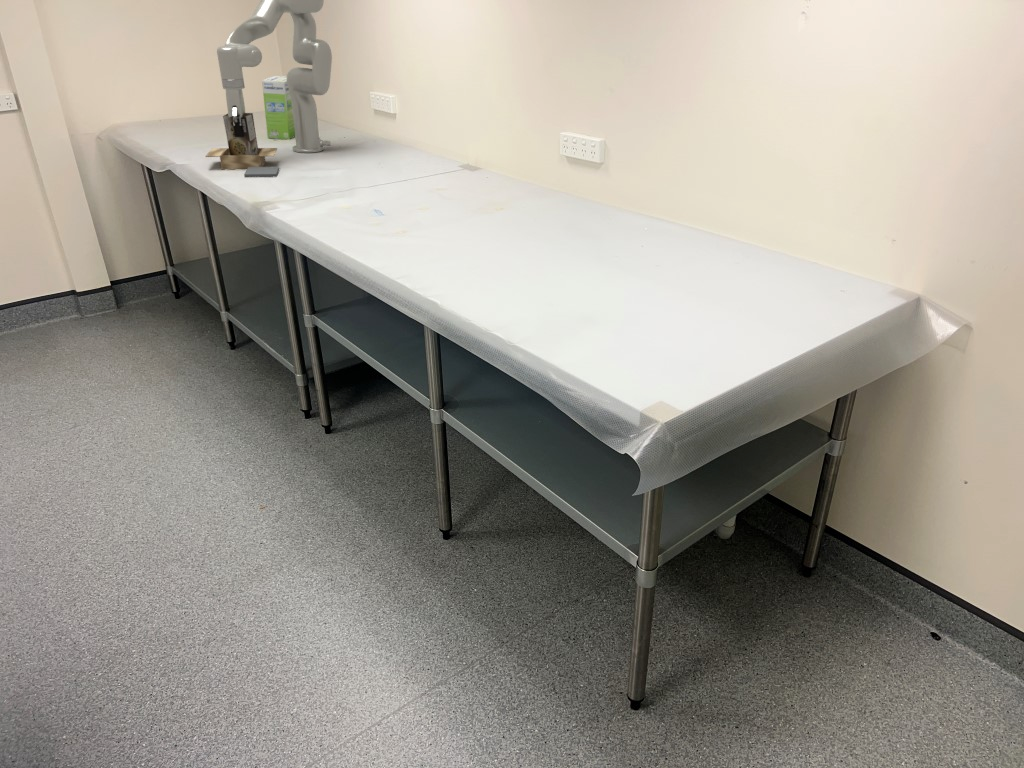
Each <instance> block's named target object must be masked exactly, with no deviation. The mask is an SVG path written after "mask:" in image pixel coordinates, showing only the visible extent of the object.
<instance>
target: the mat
mask: <svg viewBox="0 0 1024 768" xmlns="http://www.w3.org/2000/svg"><path fill="white" fill-rule="evenodd" d="M279 169H280V166H263V167H248V169H247V170H245V172H244V173H243V176H244V178H274V177H273V176H278V174H279V172H278V171H280V170H279Z"/></svg>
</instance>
